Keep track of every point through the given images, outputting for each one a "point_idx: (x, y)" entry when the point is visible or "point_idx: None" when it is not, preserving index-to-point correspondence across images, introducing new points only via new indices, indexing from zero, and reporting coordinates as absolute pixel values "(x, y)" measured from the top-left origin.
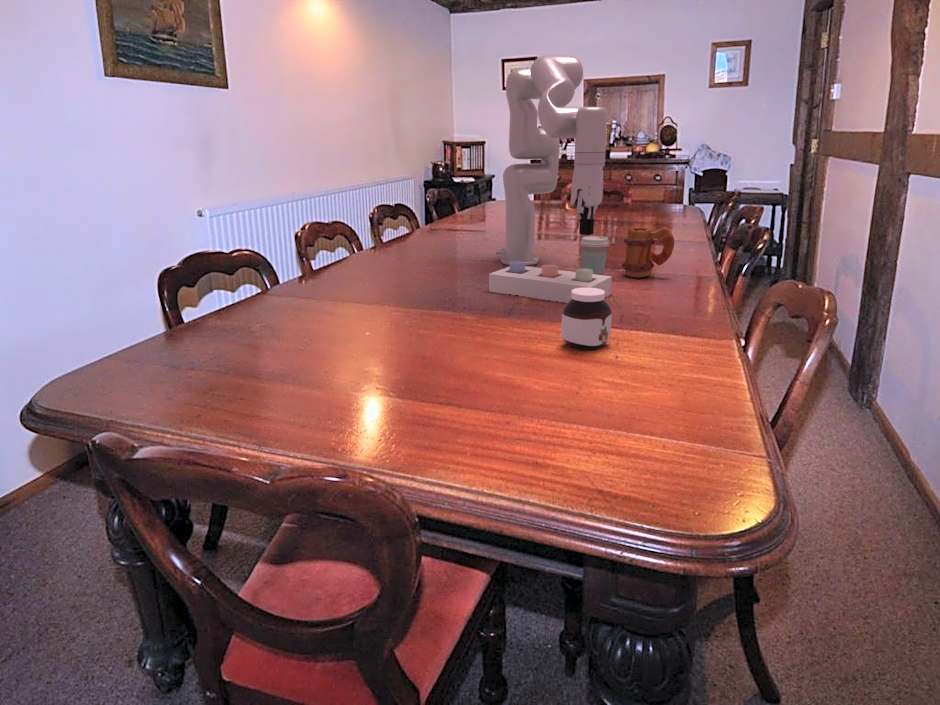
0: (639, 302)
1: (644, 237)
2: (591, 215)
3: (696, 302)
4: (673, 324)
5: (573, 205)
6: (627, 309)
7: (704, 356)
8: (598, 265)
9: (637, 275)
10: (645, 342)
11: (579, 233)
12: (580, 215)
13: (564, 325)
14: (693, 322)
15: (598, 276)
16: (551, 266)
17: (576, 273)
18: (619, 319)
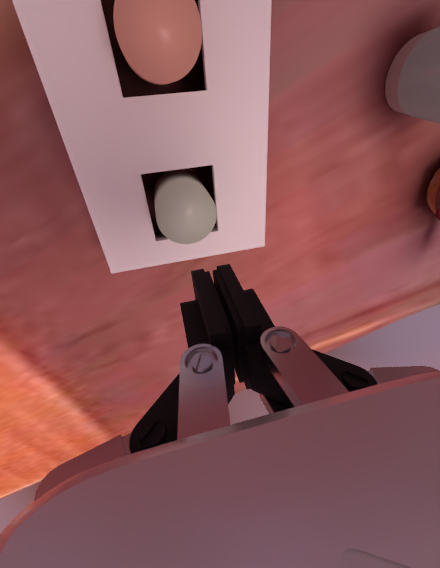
0: None
1: None
2: (261, 395)
3: None
4: (130, 388)
5: (112, 476)
6: (157, 309)
7: (34, 458)
8: (422, 112)
9: (429, 195)
10: (9, 412)
11: (191, 271)
12: (162, 396)
13: None
14: None
15: (245, 218)
16: (156, 45)
17: (159, 197)
18: (82, 334)
